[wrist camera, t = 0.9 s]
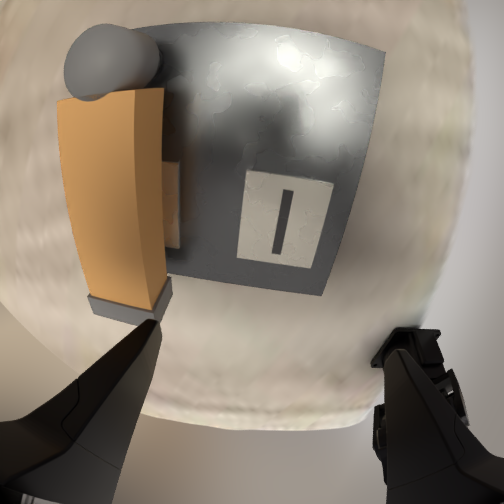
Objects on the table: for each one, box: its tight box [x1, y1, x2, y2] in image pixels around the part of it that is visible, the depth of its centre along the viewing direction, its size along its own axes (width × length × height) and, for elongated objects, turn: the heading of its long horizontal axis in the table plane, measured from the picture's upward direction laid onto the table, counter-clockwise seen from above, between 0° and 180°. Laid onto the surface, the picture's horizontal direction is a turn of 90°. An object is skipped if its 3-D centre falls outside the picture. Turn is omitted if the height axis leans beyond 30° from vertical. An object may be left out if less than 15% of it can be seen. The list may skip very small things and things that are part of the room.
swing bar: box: [57, 24, 173, 326], centre depth 12 cm, size 17×5×3 cm, turn 173°
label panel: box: [131, 22, 386, 296], centre depth 15 cm, size 17×17×3 cm
